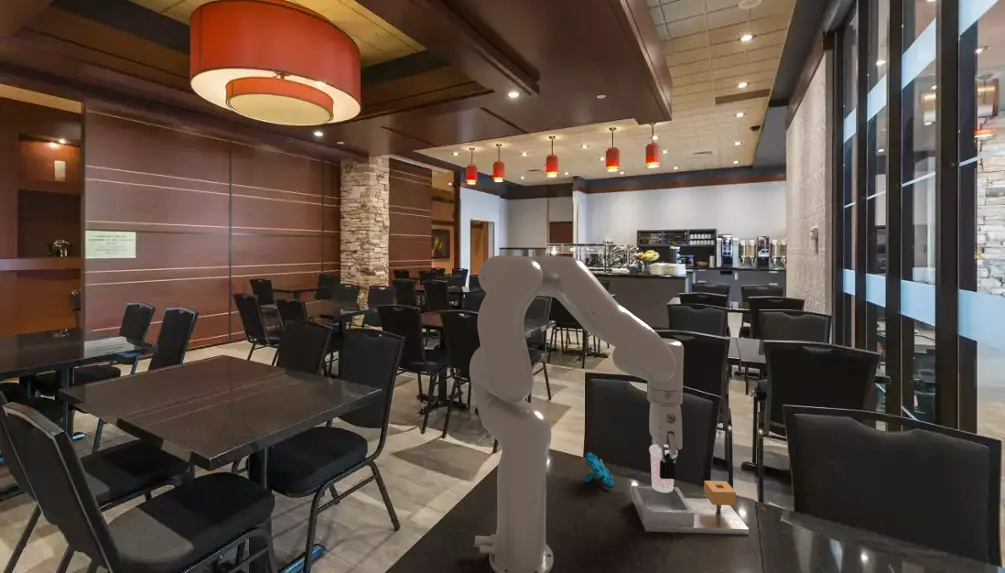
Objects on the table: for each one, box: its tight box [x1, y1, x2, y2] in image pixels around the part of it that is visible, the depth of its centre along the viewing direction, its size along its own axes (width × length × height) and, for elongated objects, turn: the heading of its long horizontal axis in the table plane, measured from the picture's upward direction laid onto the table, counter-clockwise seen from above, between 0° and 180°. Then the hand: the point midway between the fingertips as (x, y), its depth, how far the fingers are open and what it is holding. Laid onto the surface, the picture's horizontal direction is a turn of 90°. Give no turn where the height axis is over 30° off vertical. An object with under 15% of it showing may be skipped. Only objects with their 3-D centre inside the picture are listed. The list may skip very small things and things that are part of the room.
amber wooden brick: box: [703, 480, 737, 506], centre depth 106 cm, size 5×5×3 cm
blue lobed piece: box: [584, 451, 616, 488], centre depth 123 cm, size 11×6×10 cm
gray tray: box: [630, 485, 750, 535], centre depth 107 cm, size 22×12×4 cm, turn 87°
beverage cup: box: [648, 444, 678, 493], centre depth 106 cm, size 6×6×14 cm
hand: (662, 470), depth 106 cm, fingers closed on beverage cup, 6 cm apart
